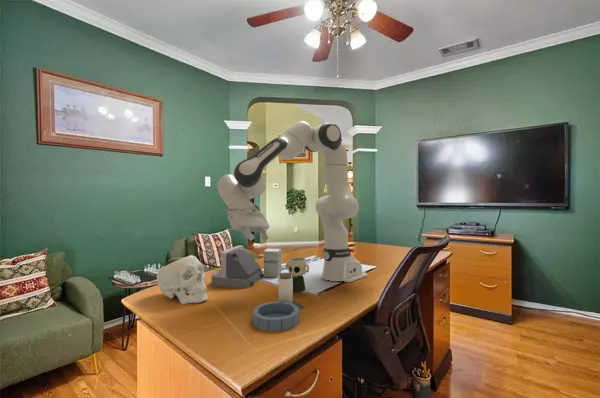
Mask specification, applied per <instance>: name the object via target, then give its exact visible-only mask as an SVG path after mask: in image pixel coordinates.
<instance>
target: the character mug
mask: <svg viewBox="0 0 600 398" xmlns="http://www.w3.org/2000/svg"><path fill="white" fill-rule="evenodd" d="M285 269H286V270H287V271H288V273H291V276H292V277H293V292H302V291H304V290H305V289H306V283H305V278H304V275H306V273H307V274H308V273H309V272H310V265H309V264H307V258H305V257H304V256H303V257H302V256H294V257H289V258H288V261H286V262H285Z"/></svg>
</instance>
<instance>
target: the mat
mask: <svg viewBox="0 0 600 398" xmlns="http://www.w3.org/2000/svg"><path fill="white" fill-rule="evenodd" d="M293 304H295V305H296V306H298V307H299V311H300V310H303V309H306V306H303V305H302V304H300V303H299V302H296V301H295V300H293Z"/></svg>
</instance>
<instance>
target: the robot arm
mask: <svg viewBox="0 0 600 398" xmlns="http://www.w3.org/2000/svg"><path fill="white" fill-rule="evenodd" d="M342 142H343V139H342V132H341V130H340V127H339V126H338V125H337V124H336V123H334V122H325V123H323V124H320V125H317V126H315V127H312V126H311V125H310V124H309V123H308V122H307V121H304V120H299V121H297V122H295V123H294V124H292V125H291V126H290V127H288V128H287V129H286V130H285V131H284V132H283V133H282V134H281V135H280V136H279V137H276V138H274V139H272V140H271V141H269V142H268V143H267V144H266V145H264V146H263V147H261V149H259V150H258V151H257V152H256V153H254V154H253V155H252V156H250V157H248V158H245V159H243V160H241V161H240V162H239V163H237V164H236V165H235V167H234V170H233V174H229V173H228V174H225V175H223V176H222V177H220V179H219V180H218V182H217V186H216V187H217V191H218V194H219V195H220V197H221V199H222V201H223V203H224V204H226V206H227V209H226V214H227V219H228V221H229V222H228V223H229V224H230V227H231V228H232V230H233V231H234V232H242V234H243V235H245V237H246V238H247V239H248V240H249V241H254V240H255V239H256V236H255V235H254V233H257V232H259V233H260V234H261V238H262V240H263V241H267V240H269V236H268V233H267V231H268V230H269V228H270V223H269V222H268V220H267V218H266V217H265V215H264V213H262V209H261V207H260V206H259V205H256V204H255V203H253V202H252V201H250V200H252V199H255V198H257V197H260V196H261V195H262V194H263V192H264V191H265V189H266V188H265V187H266V185H265V182H264V181H265V180H264V178H263V171H264V169H265V168H266V167H267V166H268V165H269V164H271V163H272V162H273V161H274V160H275V159H276V158H277V157H279V158H281V159H282V160H285V161H286V160H287V161H288V160H289V161H291V160H293V159H295V158H296V157H297V156H299V154H301V152H302V151H303V150H307V151H308V152H311V153H316V152H317V153H318V152H322V153H323V157H324V161H323V163H324V164H323V179H324V180H323V182H324V184H325V186H327V189H328V191H329V195H328V194H327V195H325V196H322V197H319V198H318V199H317V201H316V203H315V211H316V213H317V214H318V215H319V217H320V220H321V221H320V222H321V223H322V228H323V237H324V238H323V239H324V247H323V260H324V261H323V267H322V272H321V279H323V280H325V281H328V280H329V281H330V282H337V281H344V282H343V283H352V282H354V281H357V280H360V279H363V278H365V277H368V274H367V272H365V271H363V268H362V267H363V265H362V264H361V261H359V260H357V259H356V258H355V257H354V256H353V255H352V253H355V251H356V249H355V248H353V247H349V232H348V229H347V228H346V227H345V225H344V223H343V220H347V219H352V218H354V217H356V216H357V214H358V212H359V209H360V208H359V202H358V200H357V199H356V198H355V197H354V196H353V193H352V191H351V189H350V185H349V175H348V173H349V171H348V167H349V166H348V165H349V164H348V153H347V149H346V148H347V147H346V146H345V144H344V143H342ZM252 232H253V233H252Z"/></svg>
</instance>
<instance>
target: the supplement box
mask: <svg viewBox="0 0 600 398" xmlns="http://www.w3.org/2000/svg"><path fill="white" fill-rule="evenodd" d="M281 273H282V249H281V248H266V249H264V251H263V278H264V277H265V278H266V277H267V278H269V277H270V278H278V276H279V275H280V274H281ZM279 277H280V276H279Z"/></svg>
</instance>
